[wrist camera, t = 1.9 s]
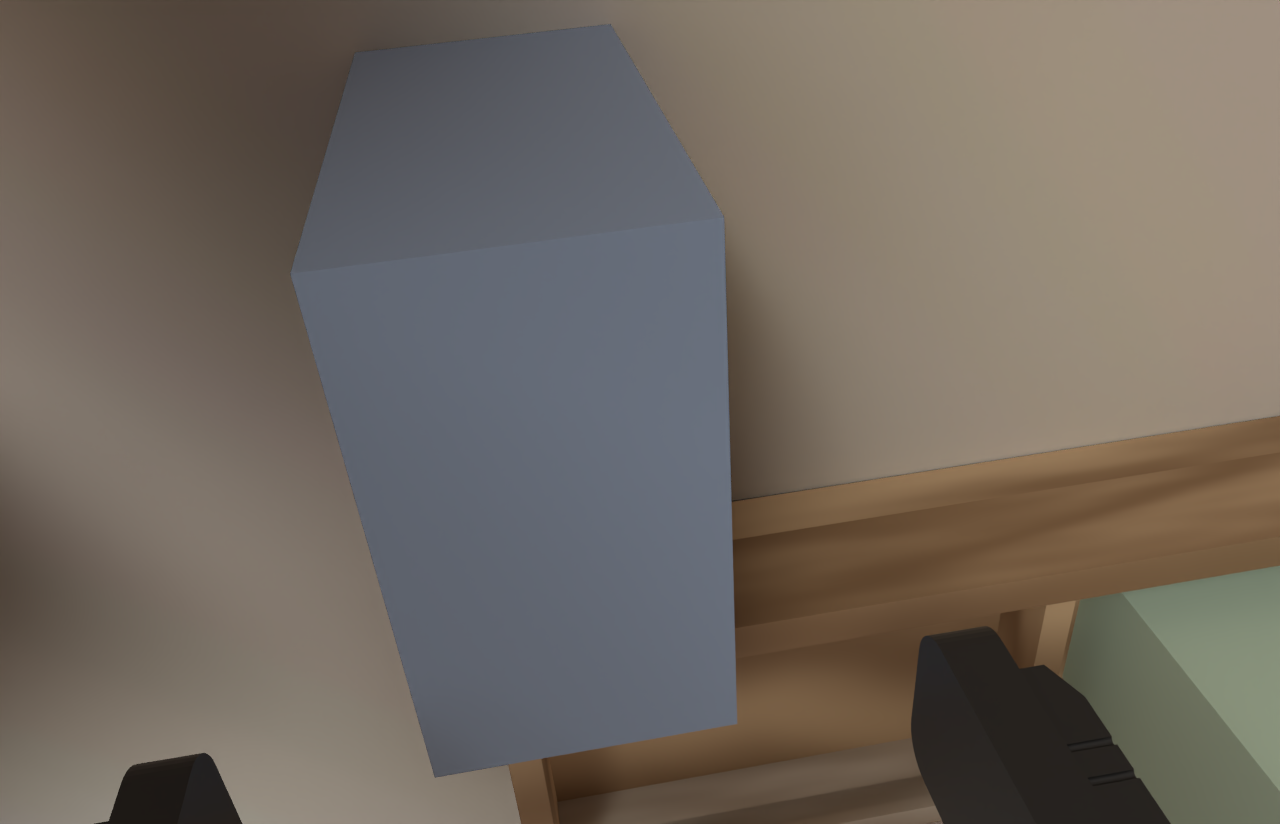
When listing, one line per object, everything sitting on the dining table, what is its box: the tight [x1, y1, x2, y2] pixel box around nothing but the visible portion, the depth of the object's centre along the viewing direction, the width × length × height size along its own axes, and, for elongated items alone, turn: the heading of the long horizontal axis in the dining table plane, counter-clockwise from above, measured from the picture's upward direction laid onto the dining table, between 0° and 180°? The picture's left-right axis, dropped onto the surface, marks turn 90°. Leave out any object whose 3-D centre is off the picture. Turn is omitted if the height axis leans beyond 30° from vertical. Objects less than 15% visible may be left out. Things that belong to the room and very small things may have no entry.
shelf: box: [508, 416, 1280, 824], centre depth 29 cm, size 10×28×4 cm, turn 94°
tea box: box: [290, 24, 737, 777], centre depth 18 cm, size 5×9×10 cm, turn 4°
